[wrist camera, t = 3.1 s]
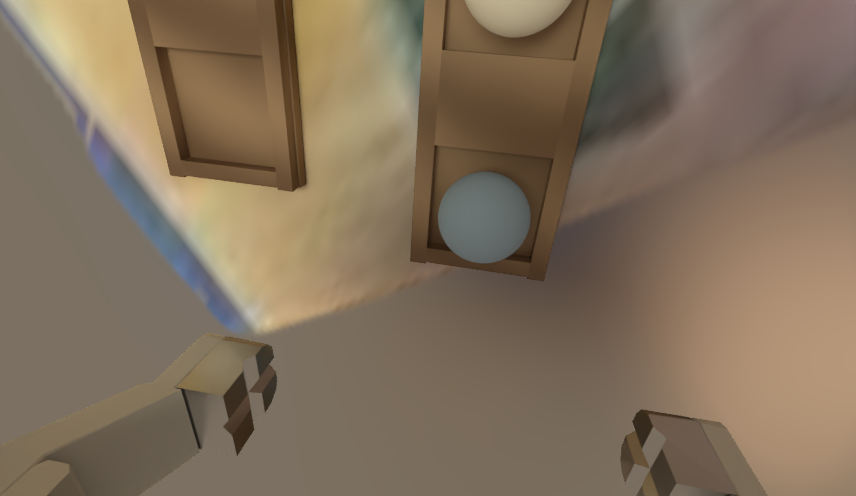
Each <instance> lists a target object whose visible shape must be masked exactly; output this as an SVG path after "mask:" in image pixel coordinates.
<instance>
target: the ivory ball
mask: <svg viewBox="0 0 856 496" xmlns="http://www.w3.org/2000/svg"><path fill="white" fill-rule="evenodd" d="M571 1H572V0H465V3H466V5H467V7H468V9H469V11H470V12H471V14H472V16H473V17H474V18H475V19H476V20H477V22H478V23H479V24H481V25H482V26H483V27H484V28H486V29H487V30H488V31H490V32H492V33H494V34H497V35H500V36H504V37H510V38H518V37H525V36H529V35H532V34H535V33H537V32H539V31H541V30H543V29H545V28H546V27H548V26H549V25H550V24H552V23H553V22H554V21H555V20H556V19H557V18H558V17H560V16H561V14H562V13H563V12H564V11H565V10H566V8H567V7H568V5H569V4H570V2H571Z"/></svg>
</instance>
